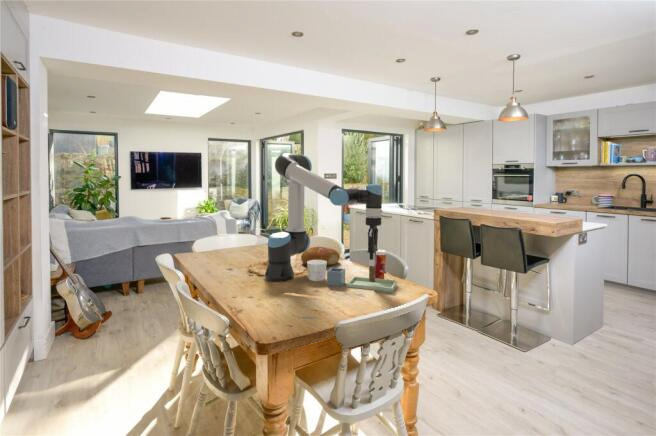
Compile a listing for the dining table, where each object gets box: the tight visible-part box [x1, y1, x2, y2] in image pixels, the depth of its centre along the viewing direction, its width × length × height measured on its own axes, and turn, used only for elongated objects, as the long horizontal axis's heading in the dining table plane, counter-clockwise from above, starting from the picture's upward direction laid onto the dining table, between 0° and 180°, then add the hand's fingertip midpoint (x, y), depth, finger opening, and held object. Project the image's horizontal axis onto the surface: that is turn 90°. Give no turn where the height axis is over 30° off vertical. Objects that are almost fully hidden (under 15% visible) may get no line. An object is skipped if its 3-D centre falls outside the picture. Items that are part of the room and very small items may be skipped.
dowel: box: [368, 245, 376, 282], centre depth 190 cm, size 3×3×18 cm
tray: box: [345, 276, 398, 294], centre depth 191 cm, size 22×14×2 cm, turn 72°
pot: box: [326, 267, 346, 287], centre depth 192 cm, size 7×7×8 cm
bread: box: [300, 246, 341, 267], centre depth 239 cm, size 23×23×10 cm
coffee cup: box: [375, 248, 388, 279], centre depth 206 cm, size 8×8×15 cm
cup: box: [306, 260, 327, 282], centre depth 201 cm, size 10×10×10 cm
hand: (372, 264), depth 190 cm, fingers closed on dowel, 3 cm apart
